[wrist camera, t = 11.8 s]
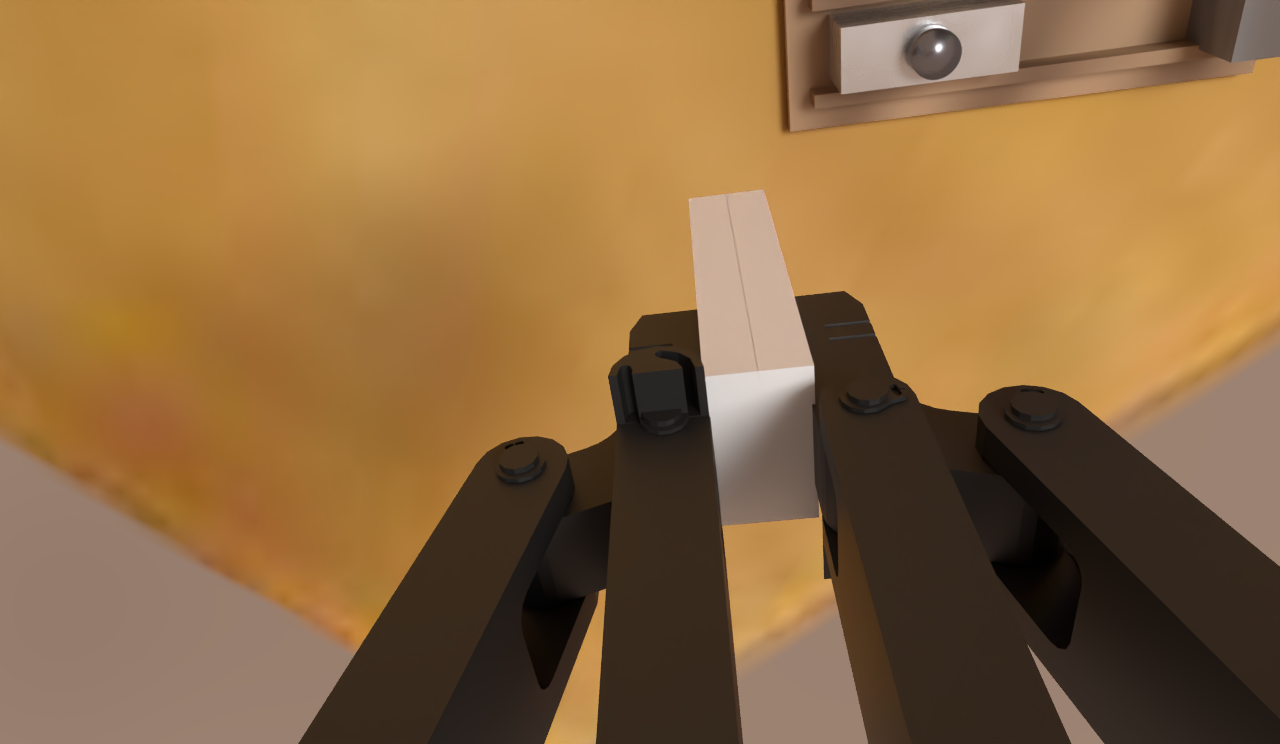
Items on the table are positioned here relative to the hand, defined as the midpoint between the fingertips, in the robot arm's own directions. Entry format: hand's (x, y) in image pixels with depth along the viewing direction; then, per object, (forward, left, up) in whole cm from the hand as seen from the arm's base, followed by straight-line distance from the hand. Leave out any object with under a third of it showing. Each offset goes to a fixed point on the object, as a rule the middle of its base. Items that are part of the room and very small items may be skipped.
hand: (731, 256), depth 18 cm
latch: (+8, 0, -17) cm, 19 cm away
